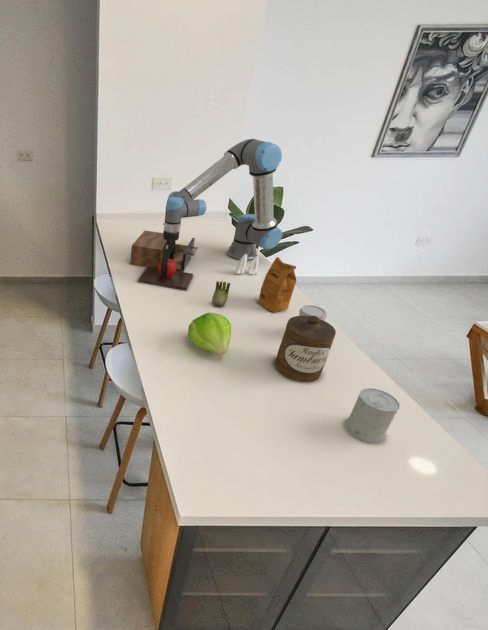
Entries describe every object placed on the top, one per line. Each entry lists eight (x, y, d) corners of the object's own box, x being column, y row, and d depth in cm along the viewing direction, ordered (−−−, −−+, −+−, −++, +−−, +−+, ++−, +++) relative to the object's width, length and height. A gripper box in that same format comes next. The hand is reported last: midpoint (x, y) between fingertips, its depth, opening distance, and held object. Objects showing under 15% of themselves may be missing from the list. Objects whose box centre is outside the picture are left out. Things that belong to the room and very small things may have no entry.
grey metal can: (338, 419, 129) (352, 389, 123) (368, 417, 130) (383, 387, 123) (359, 444, 121) (375, 412, 115) (391, 441, 122) (408, 410, 115)
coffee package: (272, 298, 195) (284, 254, 184) (290, 311, 185) (304, 265, 173) (253, 300, 193) (264, 256, 182) (271, 314, 183) (283, 268, 171)
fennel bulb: (226, 305, 190) (231, 281, 184) (222, 309, 187) (226, 285, 181) (214, 301, 193) (219, 277, 187) (209, 305, 190) (214, 281, 184)
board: (192, 276, 216) (193, 273, 215) (186, 290, 202) (186, 287, 202) (147, 268, 224) (147, 266, 224) (138, 282, 211) (138, 279, 210)
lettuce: (198, 364, 153) (204, 333, 146) (180, 334, 171) (185, 305, 164) (238, 361, 155) (246, 331, 148) (217, 331, 172) (223, 302, 165)
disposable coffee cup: (316, 332, 171) (325, 306, 164) (320, 345, 163) (329, 318, 157) (290, 328, 173) (298, 302, 167) (293, 340, 166) (301, 314, 159)
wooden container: (280, 380, 145) (297, 326, 134) (270, 354, 158) (285, 304, 146) (326, 384, 143) (348, 330, 132) (312, 358, 156) (330, 307, 144)
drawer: (198, 255, 237) (200, 238, 232) (189, 272, 218) (192, 254, 213) (163, 250, 244) (165, 233, 239) (152, 266, 225) (154, 249, 220)
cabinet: (170, 252, 243) (172, 234, 237) (159, 269, 224) (161, 249, 218) (143, 248, 249) (144, 230, 243) (130, 264, 230) (131, 245, 224)
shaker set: (235, 276, 215) (240, 256, 209) (232, 273, 219) (236, 253, 213) (258, 274, 216) (262, 254, 210) (253, 271, 220) (258, 251, 214)
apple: (176, 274, 214) (179, 255, 209) (172, 281, 207) (175, 262, 202) (159, 271, 218) (161, 252, 212) (154, 278, 211) (156, 259, 205)
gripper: (169, 221, 211) (165, 260, 222) (157, 238, 192) (153, 280, 203) (184, 223, 208) (179, 263, 219) (173, 240, 189) (168, 283, 200)
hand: (166, 271), depth 211 cm, fingers open, 13 cm apart
